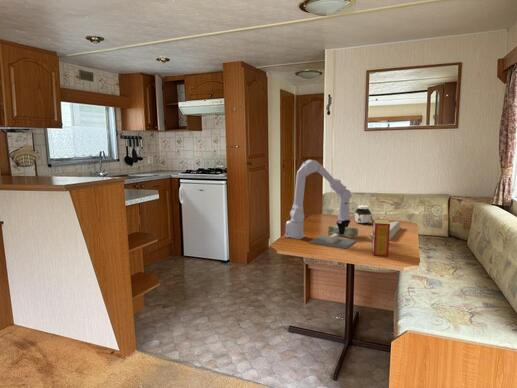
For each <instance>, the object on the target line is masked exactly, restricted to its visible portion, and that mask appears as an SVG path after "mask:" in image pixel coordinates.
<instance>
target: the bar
mask: <svg viewBox="0 0 517 388" xmlns="http://www.w3.org/2000/svg"><path fill="white" fill-rule="evenodd" d="M327 232H328V234H327V236H331V235H333V234H338V237H341V238H342V237H344V238H350V239H357V238H359V228H356V227H349V226H348V227H345V231H344V234H340V233H339V228H338V225H331V224H330V225H329V226H328V231H327Z"/></svg>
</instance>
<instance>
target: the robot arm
mask: <svg viewBox="0 0 517 388" xmlns="http://www.w3.org/2000/svg"><path fill="white" fill-rule="evenodd" d="M312 173H318V174H320V175H321V176H322V177H323V178H324V179H325V180H326V181H327V182H329V187H330V188H331V189H332V190H333V191H334V192H335V193H336V194H337V196H338V199H339V200H338V217H337V221H336V226H338V228H339V233H340V234H344V231H345V227H349V225H350V223H351V220H352V219H351V217H350V199H351V198H352V197H353V196H352V195H353V194H352V193H351V190H349V189H347V186H345V185H344V184H343V183H342V181H341V180H340V179H338V178H334V177H333V176H332V175H331V174H330V172H328V170H327V169H326V168H325V167H324V166H323V165H322V164H321V163H319V161H317V160H315V159H307V160H305V161H303V162H302V164H301V165H300V167H299V169H298V170H297V172H296V178H295V185H294V186H295V189H294V199H293V204H292V206H291V207H292V208H291V210H290V211H289V216H290V220H287V221H286V223H285V233H284V234H285V235H284V237H285V238H289V237H290V239H297V240H302V239H303V238H305V237H306V236H307V235H306V234H305V235H304V220H305V213H304V197H305V186H306V179H307V177H308V176H310V175H311V174H312Z"/></svg>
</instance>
